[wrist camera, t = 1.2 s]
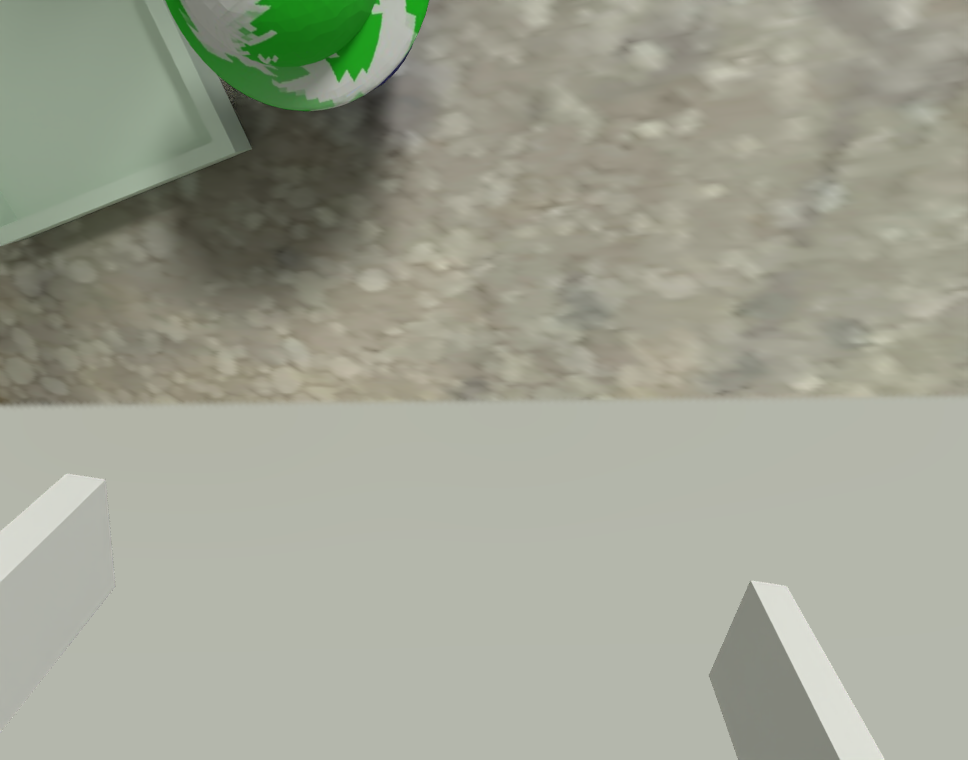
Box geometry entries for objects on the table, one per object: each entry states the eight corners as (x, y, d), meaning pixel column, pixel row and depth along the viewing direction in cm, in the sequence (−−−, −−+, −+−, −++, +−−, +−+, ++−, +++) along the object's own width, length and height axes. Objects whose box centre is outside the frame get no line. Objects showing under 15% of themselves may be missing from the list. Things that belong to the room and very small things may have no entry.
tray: (-153, -46, 30) (-200, -56, 28) (100, -175, 28) (69, -196, 26) (26, 238, 35) (-3, 247, 33) (252, 148, 33) (235, 152, 31)
